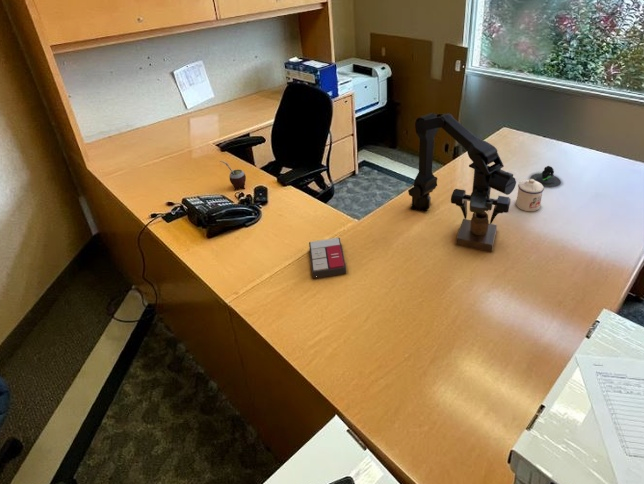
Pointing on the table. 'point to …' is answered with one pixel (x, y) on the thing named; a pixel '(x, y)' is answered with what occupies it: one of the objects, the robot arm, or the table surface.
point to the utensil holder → (479, 223)
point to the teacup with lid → (529, 195)
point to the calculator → (327, 258)
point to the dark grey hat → (547, 178)
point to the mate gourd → (237, 178)
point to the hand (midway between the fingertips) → (478, 220)
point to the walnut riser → (476, 237)
